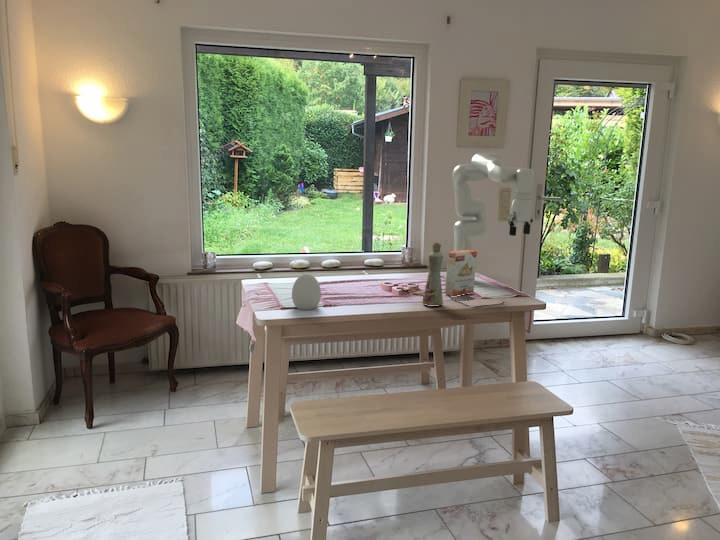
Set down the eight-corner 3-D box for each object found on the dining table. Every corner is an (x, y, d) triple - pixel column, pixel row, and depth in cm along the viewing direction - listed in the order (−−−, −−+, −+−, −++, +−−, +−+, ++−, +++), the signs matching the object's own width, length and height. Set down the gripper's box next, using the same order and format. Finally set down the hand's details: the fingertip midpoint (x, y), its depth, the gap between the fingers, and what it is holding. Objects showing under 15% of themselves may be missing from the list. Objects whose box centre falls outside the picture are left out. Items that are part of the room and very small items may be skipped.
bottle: (442, 308, 258) (446, 244, 252) (421, 306, 260) (424, 243, 254) (443, 303, 266) (447, 241, 260) (423, 301, 268) (426, 240, 262)
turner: (399, 290, 287) (399, 288, 286) (405, 289, 290) (405, 286, 290) (426, 297, 276) (426, 295, 276) (432, 295, 280) (432, 293, 280)
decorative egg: (321, 303, 259) (321, 270, 256) (320, 311, 248) (321, 276, 244) (292, 303, 259) (293, 269, 256) (290, 311, 247) (291, 275, 244)
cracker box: (453, 297, 277) (456, 253, 272) (444, 295, 281) (447, 251, 277) (474, 294, 285) (477, 251, 280) (465, 291, 290) (468, 249, 285)
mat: (450, 298, 275) (450, 297, 274) (481, 295, 283) (481, 293, 283) (472, 307, 261) (472, 305, 261) (503, 303, 269) (504, 302, 269)
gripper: (528, 195, 274) (524, 232, 278) (503, 196, 264) (500, 234, 268) (542, 197, 269) (538, 234, 272) (517, 198, 258) (513, 237, 262)
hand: (519, 234), depth 270 cm, fingers open, 9 cm apart
